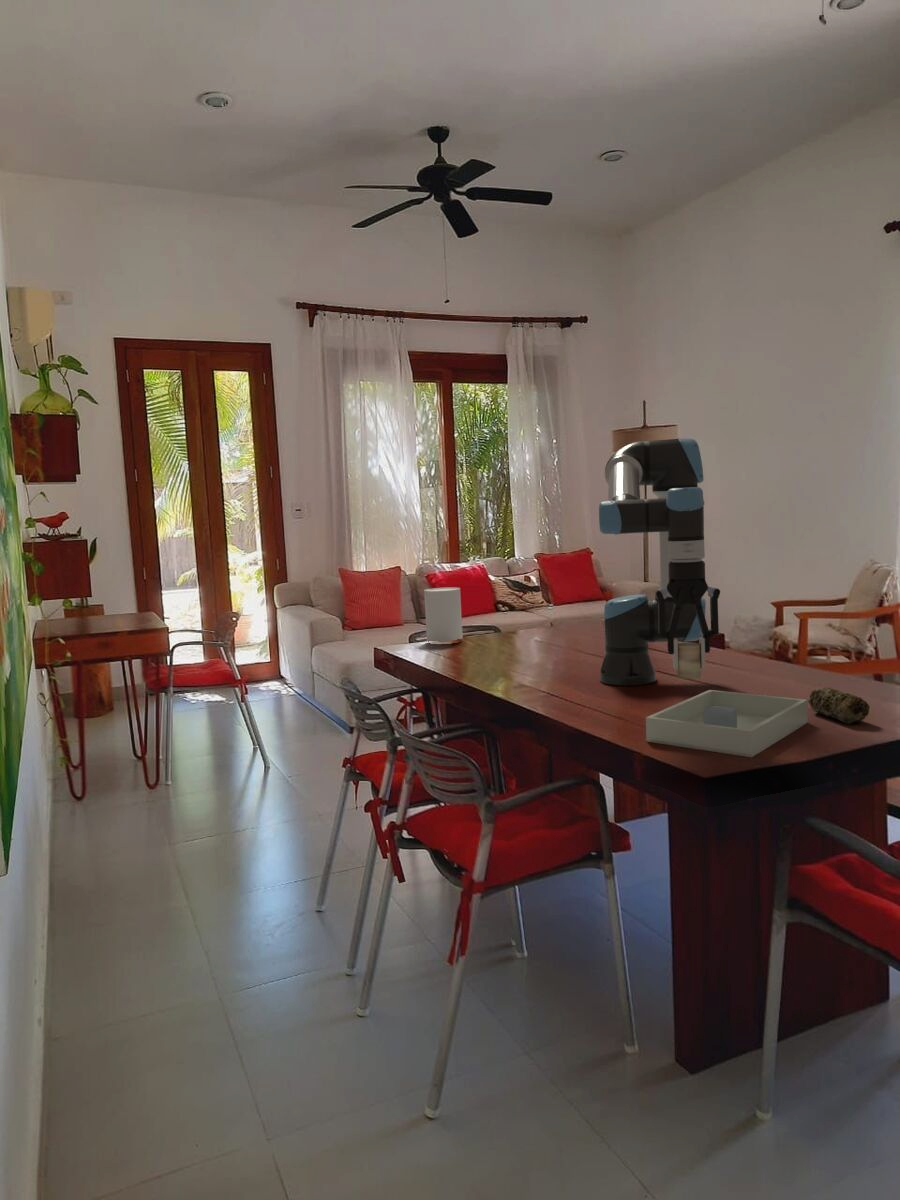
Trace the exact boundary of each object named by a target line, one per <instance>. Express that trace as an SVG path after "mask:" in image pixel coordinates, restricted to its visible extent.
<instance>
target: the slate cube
mask: <svg viewBox="0 0 900 1200" xmlns="http://www.w3.org/2000/svg"><path fill="white" fill-rule="evenodd" d="M703 724H709V725H717V726H724V727H732V728H737V709H736V708H727V707H719V706H712V707H710V708H708V709H706V710H704V711H703Z"/></svg>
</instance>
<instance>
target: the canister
mask: <svg viewBox="0 0 900 1200" xmlns="http://www.w3.org/2000/svg"><path fill="white" fill-rule="evenodd" d="M423 596H424V609H425V611H424V612H425V631H426V642H427V641H428V642H429V641H438V642H446V641H451V640H457V639H462V638H463V619H462V601H461V600H462V598H461V588H460V587H435V588H426V589H423Z"/></svg>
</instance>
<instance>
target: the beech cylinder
mask: <svg viewBox="0 0 900 1200" xmlns="http://www.w3.org/2000/svg"><path fill="white" fill-rule="evenodd" d="M676 677H677V678H679V679H685V680H687V679H688V680H691V679H699V678H701V677H702V669H701V649H700V644H699V642H691V641H687V642H678V670H676Z"/></svg>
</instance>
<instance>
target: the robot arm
mask: <svg viewBox="0 0 900 1200" xmlns="http://www.w3.org/2000/svg"><path fill="white" fill-rule="evenodd" d="M698 444H699V443H698V442H697V440H696V439H693V438H680V437H679V438H678V437H677V438H672V439H671V438H670V439H669V438H668V439H657V440H656V439H655V440H641V441H634V442H631V443H629V444H626V445H625V446H622V447H621V448H619V449H618V450H616V451H615V452H614V453H613V454H612V455H611V456H610V457H609V458H608V460H607V462H606V465H605V467H604V479H605V481H606V483H607V485H608V490H607V491H608V494H607V495H608V496H607V497H608V498H607V501H601V502H600V503H599V505H598V524H599V531H600V533H601V534H604V535H615V536H616V535H626V534H641V533H659V565H660V568H659V569H660V571H659V573H660V587H659V588H658V589H656V590H655V591H654V596H655V597H654V598H655V599H648V596H647V595H646V594H642V593H640V594H632V595H631V594H630V595H624V596H618V597H615V598H612V599H611V598H610V600H607V601H606V602H605V604H604V606H603V607H604V609H603V610H604V612H603V613H604V614H603V620H604V647H605V651H604V652H605V653H604V657H603V660H602V664H601V668H600V670H599V680H600V682H601V683H602V684H606V685H610V686H611V685H613V686H641V685H647V684H652V683H655V682H656V680H657V675H656V673H657V672H656V669H655V667H654V663H653V660H652V658H651V656H650V651H649V643H667V652H668V654H669V655H671V654H672V667H673V669H674V670H676V671H677V670H678V643H688V642H695V641H698V643H699V644H700V649H701V670H706V653H709V654H710V651H711V638H712V637H713V636H716V635H719V633H720V631H719V630H720V629H719V604H718V603H719V602H718V601H719V597H720V593H721V589H719V588H718V587H711V586H708V585H709V584H708V583H707V580H706V563H705V561H704V560H703V559H705V557H706V556H705V555H706V554H705V523H704V522H705V516H704V515H705V514H704V511H705V510H704V506H705V500H704V492H703V489H702V488H701V487H700V486H698V484H701V483H702V482H704V469H703V461H702V457H701V456H702V455H701V451H700V446H699V445H698ZM640 486H652V493H653V494H654V495H655V496H656V497H657V498H641V491H640ZM706 592H707V596H708V597H709V609H710V610H709V611H710V615H709V616H710V629H709V627H708V626H709V625H708V624H707V621H706V620H707V619H706V608H707V607H706V606H707V605H706V603H707V602H706V599H705V598H703V597H704V596H705V594H706Z"/></svg>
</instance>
